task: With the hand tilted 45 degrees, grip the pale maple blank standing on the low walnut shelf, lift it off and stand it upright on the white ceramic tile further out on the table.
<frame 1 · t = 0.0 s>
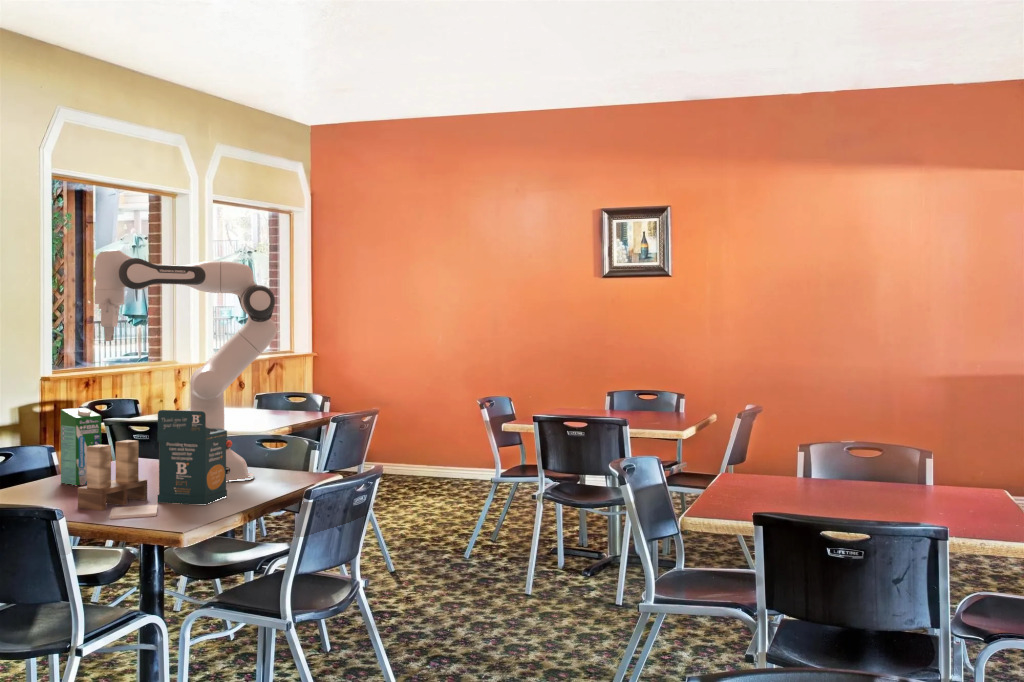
hand: (109, 340, 292), 48 cm above the table, tool pointing down, fingers open, 8 cm apart
ceramic tile: (134, 513, 251), on the table
maple blank: (99, 486, 258), point 6 cm above the table, touching walnut shelf
donation box: (196, 499, 272), on the table
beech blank: (127, 480, 269), point 6 cm above the table, touching walnut shelf
walnut shelf: (113, 503, 264), on the table
milk carton: (81, 483, 297), on the table
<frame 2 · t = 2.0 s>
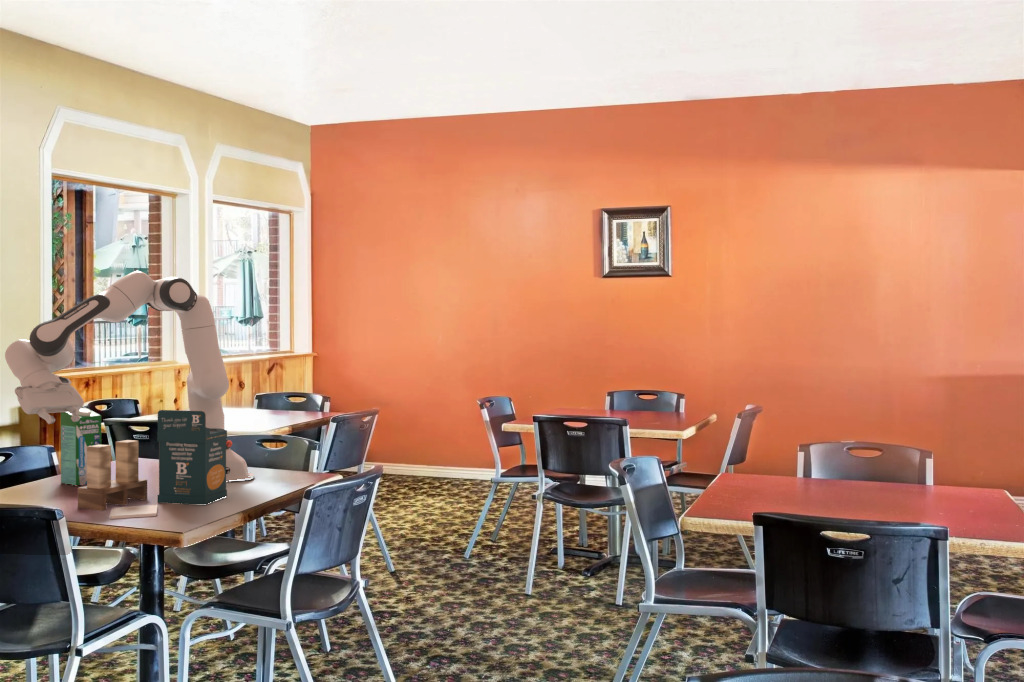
hand: (64, 421, 263), 25 cm above the table, tool tilted 40°, fingers open, 8 cm apart
nothing on the table moved.
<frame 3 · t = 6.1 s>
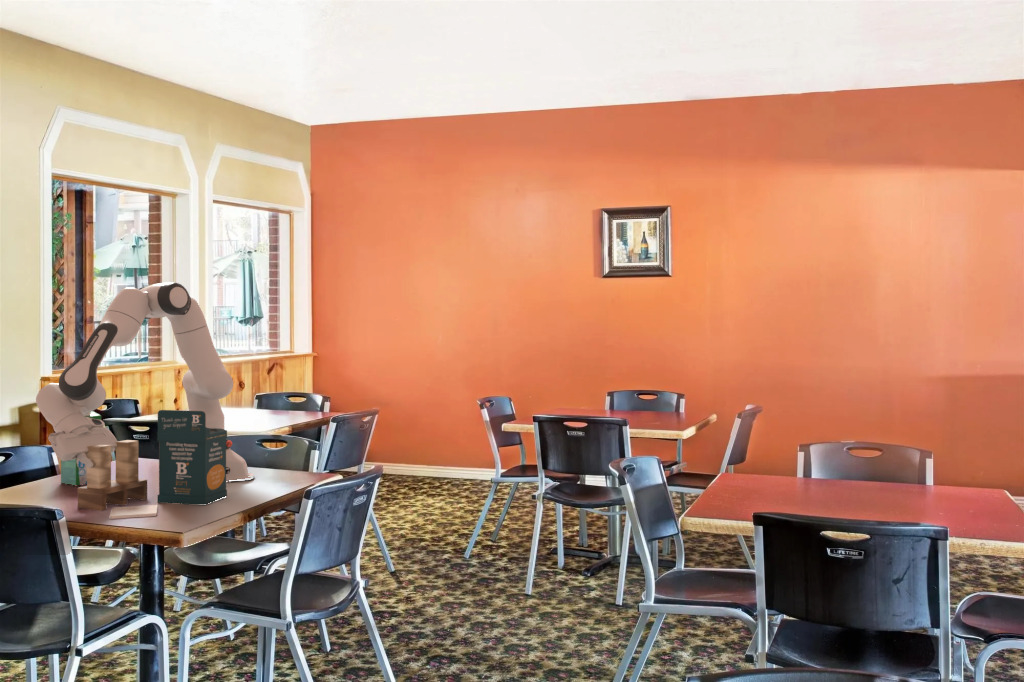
hand: (100, 465, 258), 12 cm above the table, tool tilted 45°, fingers closed on maple blank, 4 cm apart
maple blank: (99, 486, 258), point 6 cm above the table, touching gripper, walnut shelf
everything else where it was.
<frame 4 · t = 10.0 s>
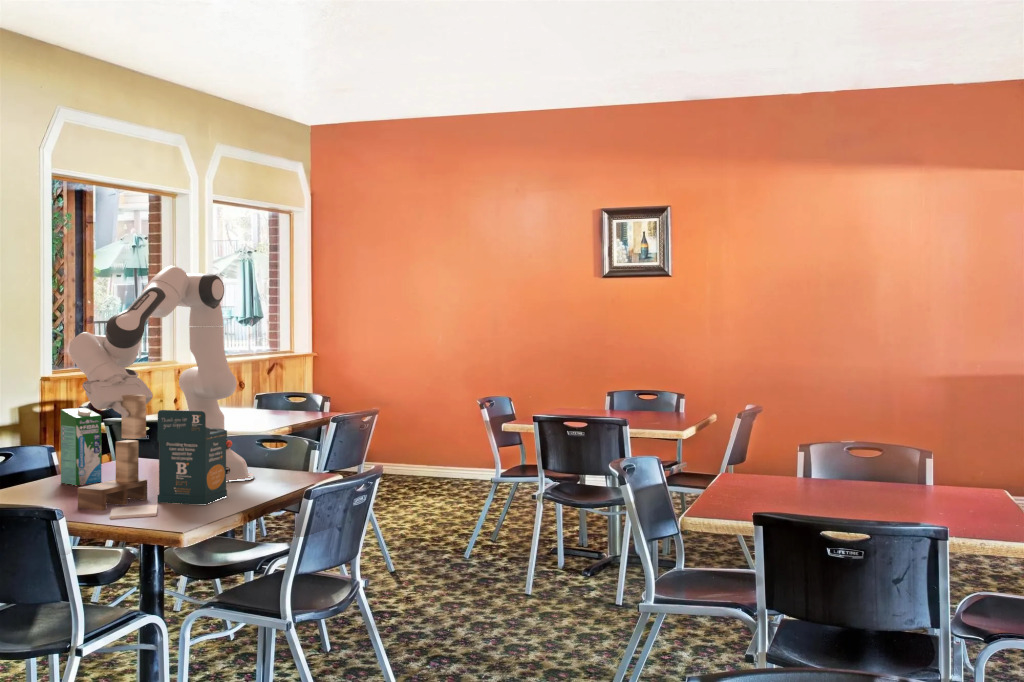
hand: (135, 415, 250), 28 cm above the table, tool tilted 45°, fingers closed on maple blank, 4 cm apart
maple blank: (133, 437, 250), point 21 cm above the table, touching gripper
everything else where it was.
when the fingers open (8 cm above the table, at t = 13.8 s): maple blank drops 1 cm, resting on ceramic tile.
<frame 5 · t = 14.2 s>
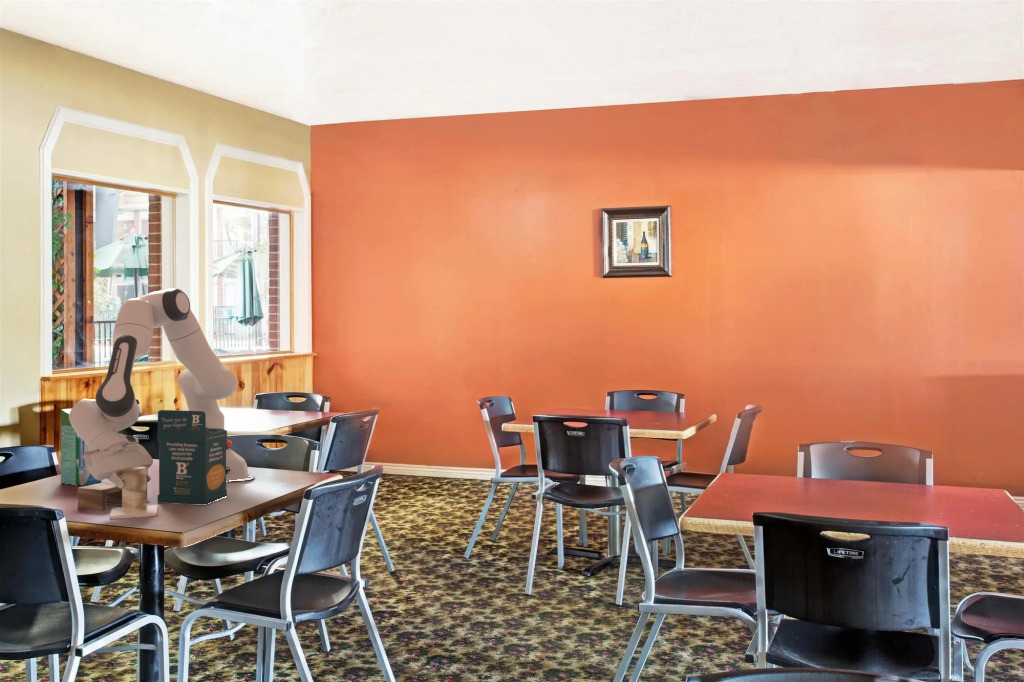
hand: (136, 483, 250), 8 cm above the table, tool tilted 45°, fingers open, 8 cm apart
maple blank: (134, 510, 251), point 1 cm above the table, touching ceramic tile
everything else where it was.
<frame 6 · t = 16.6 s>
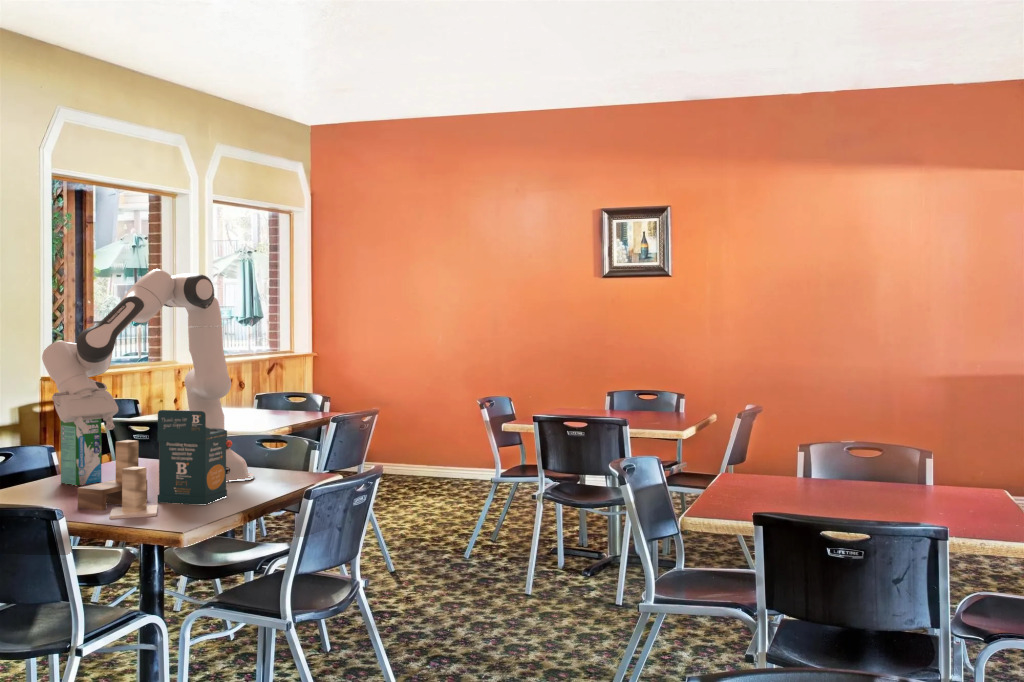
hand: (100, 430, 258), 23 cm above the table, tool tilted 35°, fingers open, 8 cm apart
nothing on the table moved.
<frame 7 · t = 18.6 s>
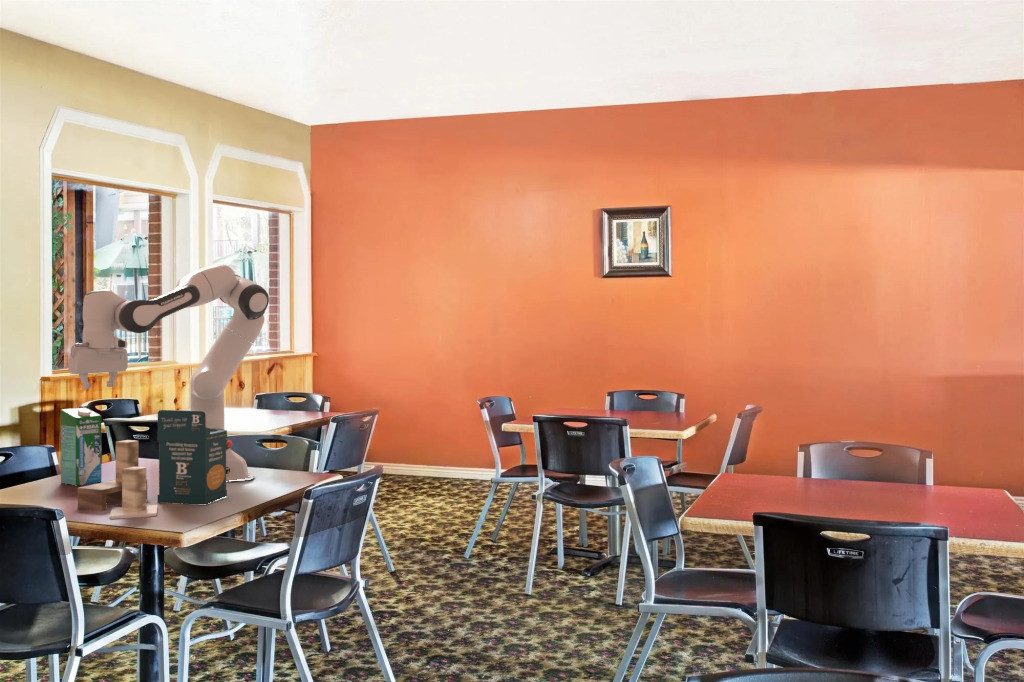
hand: (98, 387, 270), 34 cm above the table, tool pointing down, fingers open, 8 cm apart
nothing on the table moved.
at the end: maple blank inside the target area on the ceramic tile (0.0 cm from its centre), point 0.8 cm above the ceramic tile's base; maple blank tilted 0°; the gripper is holding nothing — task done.
